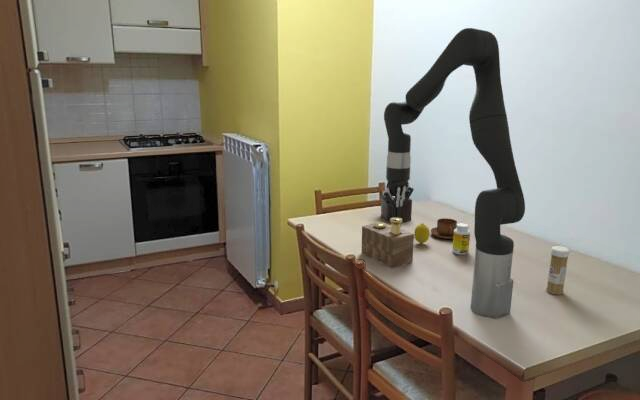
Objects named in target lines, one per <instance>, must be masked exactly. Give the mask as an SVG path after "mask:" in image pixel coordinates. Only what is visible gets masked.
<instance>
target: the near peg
mask: <svg viewBox="0 0 640 400" xmlns="http://www.w3.org/2000/svg"><path fill="white" fill-rule="evenodd" d="M389 223H391V224H390V225H391V234H393V235H399V234H400V229H401V223H403V222H402V219H401V218H390V222H389Z"/></svg>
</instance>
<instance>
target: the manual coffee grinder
mask: <svg viewBox="0 0 640 400" xmlns="http://www.w3.org/2000/svg"><path fill="white" fill-rule="evenodd" d="M404 199H405V198H404ZM404 199H403V200H404ZM412 205H413V201H412V199H411V198H410V197H409V199H408V201H407V203H406V204H403V205H402V206H401V215H400V217H399V218H401V219H402V223H403V222H410V221H412V208H413V206H412ZM380 216H381V218H382V219H384V220H385V221H387V222H388V223H391V222H390V218H394V217H393V216H392V206H391V205H388V204H387V203H386V201H385V200H384V198H383V197H382V195H381V196H380Z"/></svg>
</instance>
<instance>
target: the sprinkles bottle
mask: <svg viewBox="0 0 640 400" xmlns="http://www.w3.org/2000/svg"><path fill="white" fill-rule="evenodd" d="M550 254H551V255H550V256H551V257H550V264H549V269H548V274H547V275H548V277H547V283H546V284H547V285H546V292H548V293H549V294H552V295H563V294H564V288H565V280H566V275H567V268H568V266H567V264H568V258H569V256H570V249H569V248H568V247H564V246H561V245H560V246H557V245H555V246H552V247H551V251H550Z"/></svg>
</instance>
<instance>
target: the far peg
mask: <svg viewBox="0 0 640 400" xmlns="http://www.w3.org/2000/svg"><path fill="white" fill-rule="evenodd" d="M384 223H385V222H383V223H379V222H375V223H373V224H374V227H375V228H377V229H382V228H385V226H386V224H387V223H386V224H384Z"/></svg>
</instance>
